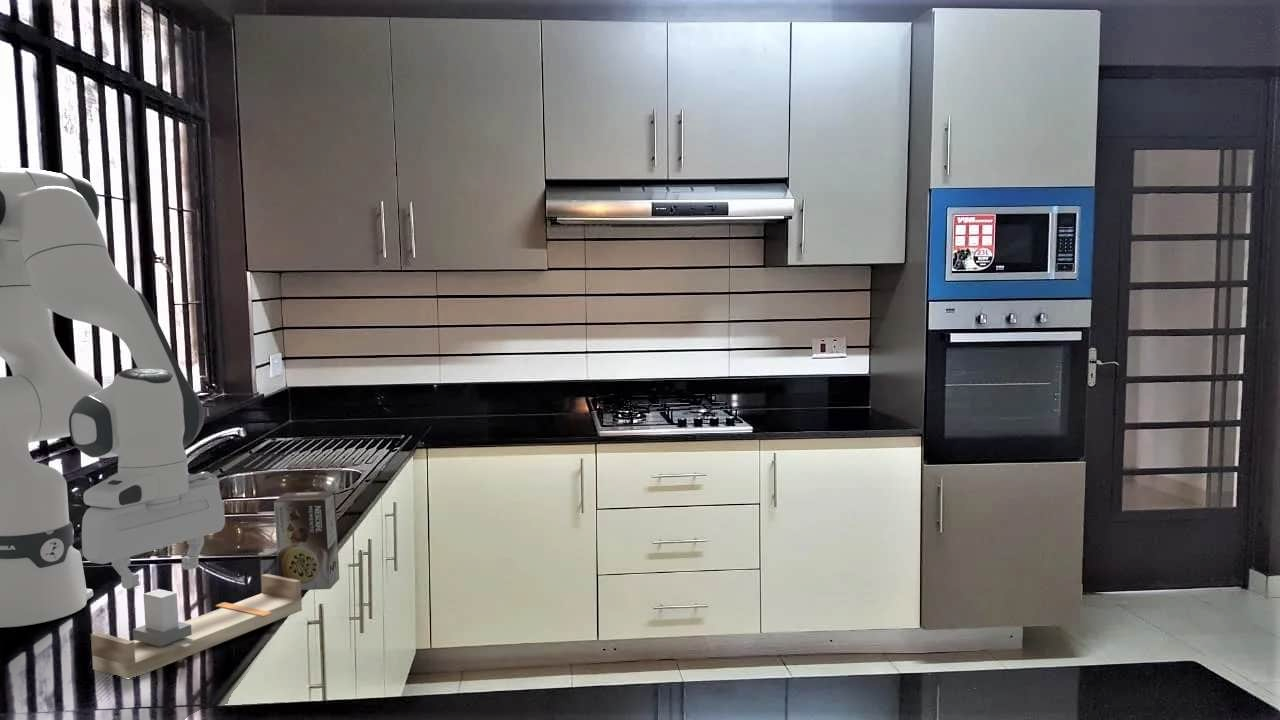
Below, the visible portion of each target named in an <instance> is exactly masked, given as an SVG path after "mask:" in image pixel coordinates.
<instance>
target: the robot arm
mask: <svg viewBox="0 0 1280 720" xmlns="http://www.w3.org/2000/svg"><path fill="white" fill-rule="evenodd" d="M99 217H100V202H99V197H98V194H97V191H96V190H95V189H94V186H93V185H92V183H90V181H89V180H87V179H85V178H83V177H81V176H78V175H75V174H72V173H67V172H63V171H62V172H53V171H47V170H42V169H33V168H26V167H16V168H9V167H8V168H7V167H6V168H5V167H4V168H2V167H0V358H1V359H3V360H4V361H5V362H6V364H7V365H8V367H9V370H10V371H11V374H12V375H11V376H1V377H0V628H14V627H23V626H30V625H36V624H41V623H46V622H51V621H54V620H57V619H60V618H61V619H62V618H64V617H67V616H70V615H72V614H74V613H77V612H79V611H81V610H82V609H83V608H85V607H86V606H87V601H88V600H89V599H91V598H92V597H94V590H93V589H92V588H87V585H86V584H87V583H86V577H85V573H84V572H85V570H84V566H83V560H82V555H81V552H80V550H78V549H76V548H75V547H73V544H74V542H75V540H74V536H75V532H74V531H75V530H74V528H73V526H74V525H73V522H72V521H70V515H69V514H70V513H69V501H68V500H69V499H68V483H67V480H66V479H65V477H64V476H63V475H62V474H63V473H61V472H60V471H59V470H58V469H55V468H54V467H51V466H49V465H46V464H43V463H40V462H36V461H35V460H34V459H33V457H32V456H31V453H30V448H29V444H30V443H35V442H42V441H48V440H53V439H55V440H56V439H61V438H68V437H70V440H71V443H72V444H73V446H75V447H76V449H78V450H79V451H80V452H82V453H83V454H84V455H86V456H88V457H90V458H101V459H105V458H113V457H114V458H115V457H117V458H118V461H117V472H116V473H114V474H113V475H111V476H109V477H108V478H106V479H104V480H102V481H100V482H98V483H97V484H95V485H93V486H91V487H89V488H87V489H86V490H85V491H84V492H83V495H82V497H83V503H84V504H85V505H87V506H90V507H89V508H87V509H86V511H85V512H84V515H83V516H82V520H81V521H82V522H81V547H82V554H83V557H84V558H85V559H86V560H87V561H88V562H89V563H93V564H99V565H100V564H101V565H104V564H105V565H106V564H109V563H111V566H112V568H113V569H114V570H115V571H116V573H118V575H119V576H120V580H121V587H122V588H123V589H127V590H130V589H133V588H136V587H138V586H140V580H139V579H140V574H139V573H135V572H132V571H131V569H130V568H129V567H128V566H129V565H131V557H134V556H137V555H140V554H141V555H142V554H144V553H147V552H152V551H154V550H159V549H162V548H166V547H169V546H172V545H176V544H180V543H183V542H186V544H188V545H189V547H188V548H187V549H188V550H187V553H186V555H185V556H182V557H181V562H182V564H181V566H182V569H183V570H187V571H191V570H194V569H197V568H198V567H199V556H200V555H201V551H202V549H203V547H204V544H205V536H208V535H212V534H215V533H218V532H221V531H222V530H223V529H224V527H225V525H226V516H225V509H224V504H223V499H222V495H221V493H220V481H219V478H218V477H217V476H216V474H214V473H211V472H209V471H202V472H199V473H195V474H193V473H192V474H189V468H188V455H187V452H186V449H185V448H187V447H188V446H189V445H190V444H192V443H193V442H194V440H195V439H196V438H197V437H198V435H199V433H200V432H201V430H202V429H203V428H202V427H203V426H204V421H205V410H204V407H203V403H202V402H201V399H200V398H199V396H198V394H197V393H196V392H195V390H194V389H193V387H192V386H191V385H190V383H189V382H188V380H187V378H186V377H185V375H184V373H183V370H182V369H181V367H180V365H179V363H178V361H177V359H176V357H175V354H174V352H173V350H172V347H171V346H170V344H169V342H168V340H167V337H166V336H165V334H164V331H163V330H162V327H161V325H160V324H159V321H158V319H157V317H156V315H155V313H154V312H153V310H152V307H151V306H150V304H149V302H148V300H147V299H146V298H145V296H144V295H143V294H142V293H141V292H140V291H138V290H137V289H135V288H134V287H132V286H131V285H130V284H129V283H128V282H127V281H126V280H125V279H124V278H123V276H122V275H121V274H120V272H119V271H118V270H117V267H115V265H114V262H113V261H112V258H111V255H110V253H109V250H108V247H107V244H106V240H105V238H104V235H103V233H102V230H101V227H100V225H99V223H98V220H99ZM50 311H52V312H53V313H56V314H57V315H60V316H62V317H64V318H67V319H70V320H73V321H78V322H81V323H87V324H88V325H89V324H90V325H93V326H96V327H98V328H101V329H104V330H106V331H108V332H110V333H112V334H114V335H115V336H117V337H118V338H119V339H121V341H123V343H124V344H125V345H126V346H127V349H128V351H129V352H130V354H131V356H132V359H133V361H134V363H135V365H136V367H135V368H128V369H127V368H126V369H125V370H121V371H119V372H118V373H116V374H115V376H114V378H113V380H112V383H111V384H110V385H107V386H106V387H105V388H103V387H102V386H101V384H100V383H99V381H97V379H96V378H94V377H93V376H92V375H90V374H89V373H87V372H85V371H83V370H82V369H81V368H80V367H78V366H77V365H76V364H74V363H73V361H72V360H71V359H70V357H68V356H67V355H66V354H65V352H64V350H63V349H62V347H61V345H60V343H59V341H58V340H57V337H56V335H55V334H56V333H55V332H54V329H53V324H52V319H51V315H50V314H51V313H50Z"/></svg>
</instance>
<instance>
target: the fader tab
mask: <svg viewBox="0 0 1280 720" xmlns="http://www.w3.org/2000/svg"><path fill="white" fill-rule="evenodd" d="M143 606H144V607H143V608H144V621H145V622H144V625H141V626H139V627H135V628H133V629H132V638H133V639H132V641H133V640H137V641H141V642H144V643H148V644H152V645H156V646H160V647H161V646H164V645H166V644H169V643H171V642H174V641H177V640H179V639H182V638H184V637H187V636H190V635H192V631H191V625H190V624H186V623H182V622H181V621H179V611H178V610H179V609H178V594H177V592H174V591H171V590H170V591H169V590H166V589H160V588H157V589H155V590H151V591H148V592H146V593H143Z"/></svg>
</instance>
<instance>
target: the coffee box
mask: <svg viewBox="0 0 1280 720" xmlns="http://www.w3.org/2000/svg"><path fill="white" fill-rule="evenodd" d="M336 507H337V506H336V491H334V490H332V491H330V490H329V491H303V492H301V491H300V492H285V493H283V494H282V495H280V496H279V497H278V498H277V499H276V500H274V501H273V510H274V512H273V513H274V523H275V524H274V525H275V538H276V539H275V541H276V553H277V554H276V555H277V557H276V559H277V573H278V575H277V576H280V577H285V578H291V579H296V580H301V591H310V590H311V591H312V590H313V591H315V590H317V591H318V590H331V589H332V588H333V586H335V584H337V582H338V581H339V580H340V566H339V546H338V525H337V511H336V510H337V508H336Z"/></svg>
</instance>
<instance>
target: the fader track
mask: <svg viewBox="0 0 1280 720" xmlns="http://www.w3.org/2000/svg"><path fill="white" fill-rule="evenodd" d="M260 580H261V593H259V594H256V595H253V596H251V597H248V598H244V599H243V600H239V601H237V602H234V603H229V602H225V601H224V602H220V603H218V604H216V605H215V607H217V608H218V609H216V610H213V611H209V612H207V613H205V614H201V615H199V616H195V617H193V618H190V619H188V620H185V621H183V622H182V623H186V624H190V625H191V631H192V635H190V636H187V637H184V638H182V639H179V640H177V641H174V642H171V643H169V644H166V645H164V646H161V647H160V646H156V645H152V644H148V643H144V642H141V641H137V640H133V639H132V640H129V639H125V638H122V637H117V636H114V635H110V634H106V633H103V632H99V631H96V632H94V633H90V641H91V642H90V643H91V644H90V645H91V657H92V660H91V661H92V670H95V671H98V672H102V673H105V674H108V675H111V674H112V675H111V676H114V675H118V676H121V677H125V678H133V677H135V678H137V677H136V676H138V677H140V676H143V675H145V674H147V672H148V673H150V672H152V671H155V670H157V669H160V668H162V667H165V666H167V665H170V664H172V663H175V662H177V661H180V660H183V659H185V658H188V657H189V656H192V655H195V654H197V653H199V652H200V653H201V652H202V651H204V650H208V649H209V648H212V647H214V646H217V645H220V644H222V643H224V642H227V641H230V640H233V639H235V638H237V637H240V636H242V635H244V634H247V633H249V632H252V631H254V630H257V629H259V628H262V627H264V626H267V625H269V624H271V623H274V622H277V621H278V620H279V621H280V620H281V619H284V618H286V617H289V616H291V615H294V614H296V613H299V612H301V611H302V610H303V603H302V590H301V580H296V579H291V578H285V577H280V576H278V575H275V574H268V573H265V574H261V579H260ZM142 674H143V675H142ZM139 675H140V676H139ZM118 676H117V677H118ZM121 677H120V678H121ZM125 678H124V679H125ZM133 679H134V678H133Z"/></svg>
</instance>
